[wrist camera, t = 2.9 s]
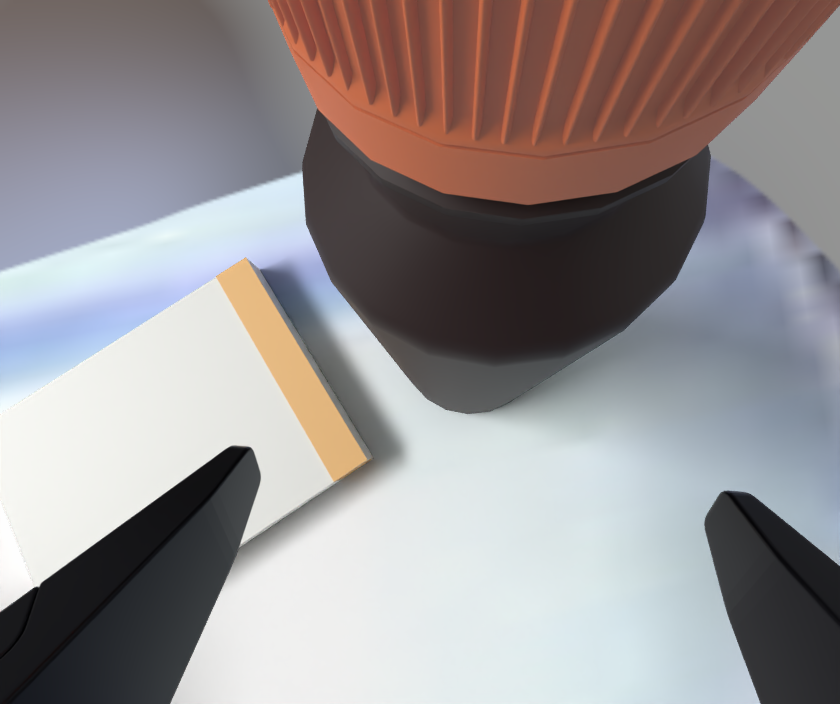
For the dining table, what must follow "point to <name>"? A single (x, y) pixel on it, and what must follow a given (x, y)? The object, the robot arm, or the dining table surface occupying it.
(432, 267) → the vinegar
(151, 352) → the white flat block
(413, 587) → the dining table surface
